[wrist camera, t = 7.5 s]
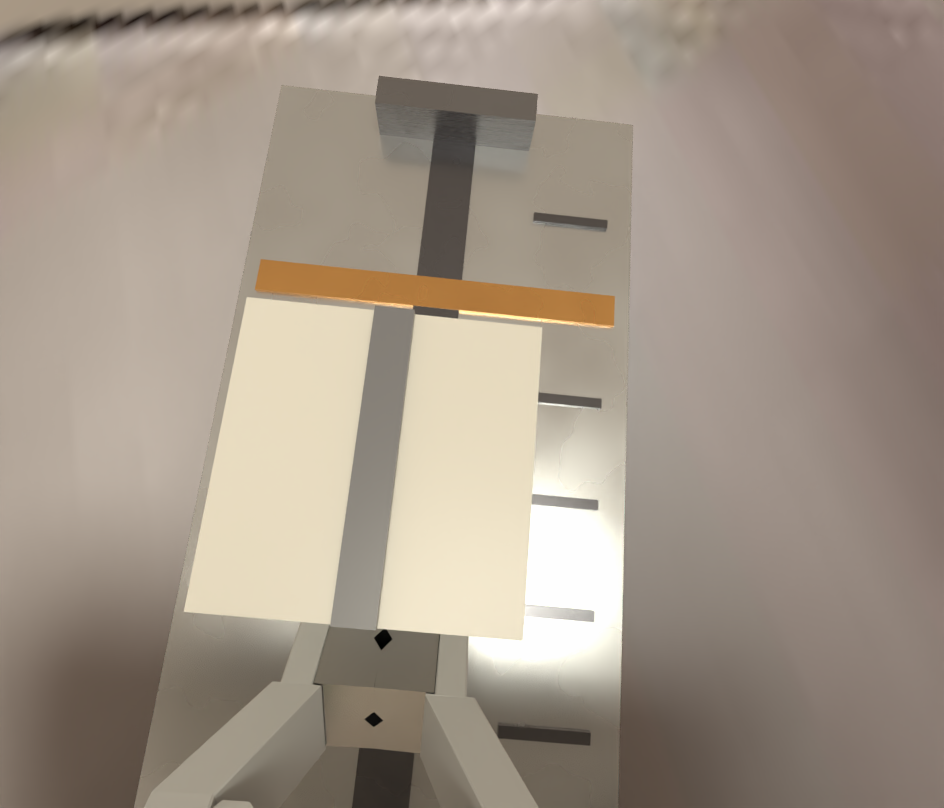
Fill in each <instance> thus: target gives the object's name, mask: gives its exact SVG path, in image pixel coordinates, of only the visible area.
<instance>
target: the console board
mask: <svg viewBox="0 0 944 808" xmlns="http://www.w3.org/2000/svg"><path fill="white" fill-rule="evenodd" d="M537 97H538V94H533V93H524V92H515V91H507V90H498V89H489V88H480V87H472V86H463V85H454V84H445V83H437V82H428V81H419V80H410V79H402V78H393V77H384V76H379V79H378V86H377V92H376V96H373V95H364V94H355V93H346V92H337V91H329V90H320V89H311V88H302V87H293V86H284V85H281V90H280V95H279V100H278V105H277V110H276V115H275V120H274V125H273V129H272V134H271V139H270V144H269V149H268V154H267V159H266V164H265V169H264V173H263V178H262V183H261V188H260V193H259V198H258V203H257V208H256V213H255V217H254V222H253V227H252V232H251V237H250V242H249V247H248V252H247V257H246V261H245V266H244V271H243V276H242V281H241V286H240V291H239V296H238V301H237V305H236V310H235V315H234V320H233V325H232V330H231V335H230V340H229V345H228V349H227V354H226V359H225V364H224V369H223V374H222V379H221V384H220V389H219V393H218V398H217V403H216V408H215V413H214V418H213V423H212V428H211V433H210V437H209V442H208V447H207V452H206V457H205V462H204V467H203V472H202V477H201V481H200V486H199V491H198V496H197V501H196V506H195V511H194V516H193V521H192V525H191V530H190V535H189V540H188V545H187V550H186V555H185V560H184V565H183V570H182V574H181V579H180V584H179V589H178V594H177V599H176V604H175V609H174V614H173V618H172V623H171V628H170V633H169V638H168V643H167V648H166V653H165V658H164V662H163V667H162V672H161V677H160V682H159V687H158V692H157V697H156V702H155V706H154V711H153V716H152V721H151V726H150V731H149V736H148V741H147V746H146V750H145V755H144V760H143V765H142V770H141V775H140V780H139V785H138V790H137V794H136V799H135V804H134V808H144V807H145V805H146V803H147V800H148V798H149V796H150V794H151V792H152V791H153V790H154V789H155V788H156V787H157V786H158V785H159V784H160V783H161V782H163V781H164V780H165V779H166V778H167V777H168V776H169V775H170V774H171V773H172V772H173V771H175V770H176V769H177V768H178V767H179V766H180V765H181V764H182V763H183V762H184V761H186V760H187V759H188V758H189V757H190V756H191V755H192V754H193V753H194V752H195V751H196V750H198V749H199V748H200V747H201V746H202V745H203V744H204V743H205V742H206V741H207V740H209V739H210V738H211V737H212V736H213V735H214V734H215V733H216V732H217V731H218V730H219V729H221V728H222V727H223V726H224V725H225V724H226V723H227V722H228V721H229V720H230V719H231V718H233V717H234V716H235V715H236V714H237V713H238V712H239V711H240V710H241V709H242V708H244V707H245V706H246V705H247V704H248V703H249V702H250V701H251V700H252V699H253V698H254V697H256V696H257V695H258V694H259V693H260V692H261V691H262V690H263V689H264V688H265V687H267V686H268V685H269V684H270V683H271V682H272V681H276V682H281V679H282V676H283V673H284V670H285V667H286V664H287V661H288V658H289V655H290V652H291V649H292V646H293V643H294V640H295V637H296V634H297V631H298V629H299V626H300V623H301V622H296V621H285V620H273V619H261V618H250V617H238V616H226V615H215V614H203V613H192V612H184V608H185V603H186V598H187V593H188V588H189V583H190V578H191V573H192V568H193V563H194V558H195V553H196V548H197V543H198V538H199V533H200V528H201V523H202V518H203V513H204V508H205V503H206V498H207V493H208V488H209V483H210V478H211V473H212V468H213V463H214V458H215V453H216V448H217V443H218V438H219V433H220V428H221V423H222V418H223V413H224V408H225V403H226V398H227V393H228V388H229V383H230V378H231V373H232V368H233V364H234V359H235V354H236V349H237V344H238V339H239V334H240V329H241V324H242V319H243V314H244V309H245V304H246V299H247V297H251V298H261V299H271V300H280V301H290V302H300V303H310V304H319V305H329V306H339V307H349V308H359V309H368V310H374V309H375V306H384V307H394V308H404V309H414V310H415V314H417V315H427V316H437V317H447V318H456V319H466V320H476V321H486V322H495V323H505V324H515V325H525V326H535V327H542V342H541V358H540V374H539V391H538V407H537V423H536V440H535V456H534V472H533V488H532V505H531V521H530V537H529V554H528V570H527V586H526V602H525V619H524V635H523V641H517V640H506V639H494V638H482V637H471V636H469V639H468V669H467V697H472V698H475V699H476V701H477V703H478V704H479V706H480V708H481V710H482V711H483V713H484V715H485V716H486V718H487V720H488V722H489V723H490V725H491V727H492V728H493V730H494V732H495V734H496V735H497V737H498V739H499V740H500V742H501V744H502V746H503V747H504V749H505V751H506V752H507V754H508V756H509V758H510V759H511V761H512V763H513V764H514V766H515V768H516V770H517V771H518V773H519V775H520V776H521V778H522V780H523V782H524V783H525V785H526V787H527V788H528V790H529V792H530V794H531V795H532V797H533V799H534V800H535V802H536V804H537V806H538V807H539V808H618V794H619V748H620V702H621V655H622V609H623V563H624V517H625V471H626V425H627V379H628V332H629V286H630V240H631V194H632V148H633V125H629V124H620V123H611V122H602V121H593V120H585V119H576V118H567V117H558V116H549V115H540V114H536V111H537ZM325 749H326V750H325V751H324V752H323V753H322V755H321V756H320V757H319V759H318V760H317V761H316V762H315V764H314V765H313V766H312V767H311V769H310V770H309V771H308V772H307V774H306V775H305V776H304V777H303V779H302V780H301V781H300V782H299V784H298V785H297V786H296V788H295V789H294V790H293V791H292V793H291V794H290V795H289V796H288V798H287V799H286V800H285V801H284V803H283V804H282V805H281V806H280V808H441V807H440V804H439V802H438V799H437V797H436V794H435V792H434V789H433V787H432V784H431V782H430V779H429V777H428V775H427V772H426V770H425V767H424V765H423V762H422V760H421V757H420V753H411V752H402V751H392V750H383V749H374V748H354V747H333V746H325Z"/></svg>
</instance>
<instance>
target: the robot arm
mask: <svg viewBox="0 0 944 808" xmlns="http://www.w3.org/2000/svg"><path fill="white" fill-rule="evenodd" d="M468 639H469V636H459V635H447V634H436V633H424V632H412V631H401V630H389V629H378V628H377V629H376V630H364V629H353V628H341V627H330V624H319V623H308V622H301V623H300V626H299V629H298V631H297V634H296V637H295V640H294V643H293V646H292V649H291V652H290V655H289V658H288V661H287V664H286V667H285V670H284V673H283V676H282V679H281V682H276V681H272V682H271V683H270V684H269V685H268V686H267V687H265V688H264V689H263V690H262V691H261V692H260V693H259V694H258V695H257V696H256V697H254V698H253V699H252V700H251V701H250V702H249V703H248V704H247V705H246V706H245V707H244V708H242V709H241V710H240V711H239V712H238V713H237V714H236V715H235V716H234V717H233V718H231V719H230V720H229V721H228V722H227V723H226V724H225V725H224V726H223V727H222V728H221V729H219V730H218V731H217V732H216V733H215V734H214V735H213V736H212V737H211V738H210V739H209V740H207V741H206V742H205V743H204V744H203V745H202V746H201V747H200V748H199V749H198V750H196V751H195V752H194V753H193V754H192V755H191V756H190V757H189V758H188V759H187V760H186V761H184V762H183V763H182V764H181V765H180V766H179V767H178V768H177V769H176V770H175V771H173V772H172V773H171V774H170V775H169V776H168V777H167V778H166V779H165V780H164V781H163V782H161V783H160V784H159V785H158V786H157V787H156V788H155V789H154V790H153V791H152V792H151V794H150V796H149V798H148V800H147V803H146V805H145V807H144V808H280V806H281V805H282V804H283V803H284V801H285V800H286V799H287V798H288V796H289V795H290V794H291V793H292V791H293V790H294V789H295V788H296V786H297V785H298V784H299V782H300V781H301V780H302V779H303V777H304V776H305V775H306V774H307V772H308V771H309V770H310V769H311V767H312V766H313V765H314V764H315V762H316V761H317V760H318V759H319V757H320V756H321V755H322V753H323V752H324V751H325V750H326V749H325V746H333V747H354V748H374V749H383V750H392V751H402V752H411V753H420V757H421V760H422V762H423V765H424V767H425V770H426V772H427V775H428V777H429V779H430V782H431V784H432V787H433V789H434V792H435V794H436V797H437V799H438V802H439V804H440V807H441V808H539V807H538V806H537V804H536V802H535V800H534V799H533V797H532V795H531V794H530V792H529V790H528V788H527V787H526V785H525V783H524V782H523V780H522V778H521V776H520V775H519V773H518V771H517V770H516V768H515V766H514V764H513V763H512V761H511V759H510V758H509V756H508V754H507V752H506V751H505V749H504V747H503V746H502V744H501V742H500V740H499V739H498V737H497V735H496V734H495V732H494V730H493V728H492V727H491V725H490V723H489V722H488V720H487V718H486V716H485V715H484V713H483V711H482V710H481V708H480V706H479V704H478V703H477V701H476V699H475V698H472V697H467V669H468Z"/></svg>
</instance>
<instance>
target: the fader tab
mask: <svg viewBox="0 0 944 808" xmlns="http://www.w3.org/2000/svg"><path fill="white" fill-rule="evenodd" d="M541 342H542V327H535V326H525V325H515V324H505V323H495V322H486V321H476V320H466V319H456V318H447V317H437V316H427V315H417V314H415V310H414V309H404V308H394V307H384V306H375V309H374V310H368V309H359V308H349V307H339V306H329V305H319V304H310V303H300V302H290V301H280V300H271V299H261V298H251V297H247V299H246V304H245V309H244V314H243V319H242V324H241V329H240V334H239V339H238V344H237V349H236V354H235V359H234V364H233V368H232V373H231V378H230V383H229V388H228V393H227V398H226V403H225V408H224V413H223V418H222V423H221V428H220V433H219V438H218V443H217V448H216V453H215V458H214V463H213V468H212V473H211V478H210V483H209V488H208V493H207V498H206V503H205V508H204V513H203V518H202V523H201V528H200V533H199V538H198V543H197V548H196V553H195V558H194V563H193V568H192V573H191V578H190V583H189V588H188V593H187V598H186V603H185V608H184V612H192V613H203V614H215V615H226V616H238V617H250V618H261V619H273V620H285V621H296V622H308V623H319V624H330V627H341V628H353V629H364V630H376V629H377V628H378V629H389V630H401V631H412V632H424V633H436V634H447V635H459V636H471V637H482V638H494V639H506V640H517V641H523V635H524V619H525V602H526V586H527V570H528V554H529V537H530V521H531V505H532V488H533V472H534V456H535V440H536V423H537V407H538V391H539V374H540V358H541Z"/></svg>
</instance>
